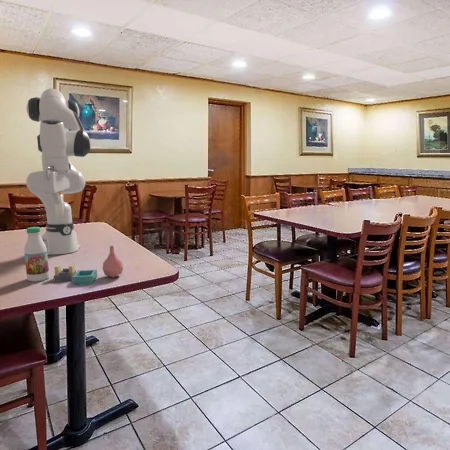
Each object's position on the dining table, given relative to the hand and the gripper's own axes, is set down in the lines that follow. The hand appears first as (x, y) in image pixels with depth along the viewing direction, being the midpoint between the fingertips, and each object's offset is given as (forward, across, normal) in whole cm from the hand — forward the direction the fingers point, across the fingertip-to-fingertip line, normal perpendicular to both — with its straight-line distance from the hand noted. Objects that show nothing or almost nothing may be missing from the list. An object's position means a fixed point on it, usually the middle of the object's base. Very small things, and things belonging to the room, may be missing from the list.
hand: (58, 203), depth 144 cm
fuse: (+5, 0, 0) cm, 5 cm away
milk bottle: (+29, +1, +10) cm, 31 cm away
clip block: (+29, 0, 0) cm, 29 cm away
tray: (+29, -4, -8) cm, 30 cm away
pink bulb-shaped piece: (+29, 0, -18) cm, 34 cm away
